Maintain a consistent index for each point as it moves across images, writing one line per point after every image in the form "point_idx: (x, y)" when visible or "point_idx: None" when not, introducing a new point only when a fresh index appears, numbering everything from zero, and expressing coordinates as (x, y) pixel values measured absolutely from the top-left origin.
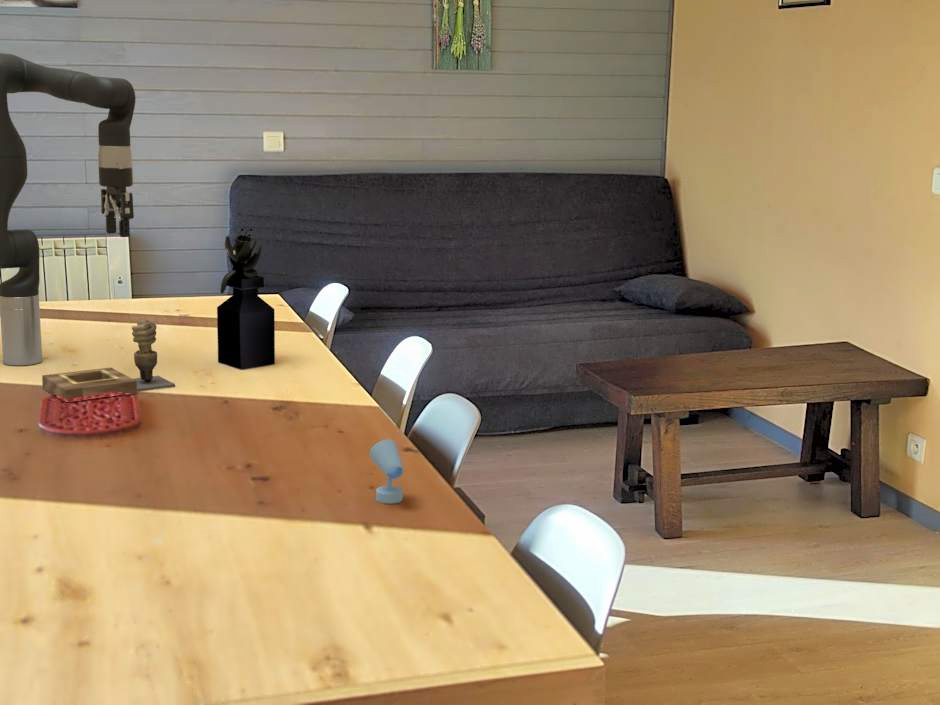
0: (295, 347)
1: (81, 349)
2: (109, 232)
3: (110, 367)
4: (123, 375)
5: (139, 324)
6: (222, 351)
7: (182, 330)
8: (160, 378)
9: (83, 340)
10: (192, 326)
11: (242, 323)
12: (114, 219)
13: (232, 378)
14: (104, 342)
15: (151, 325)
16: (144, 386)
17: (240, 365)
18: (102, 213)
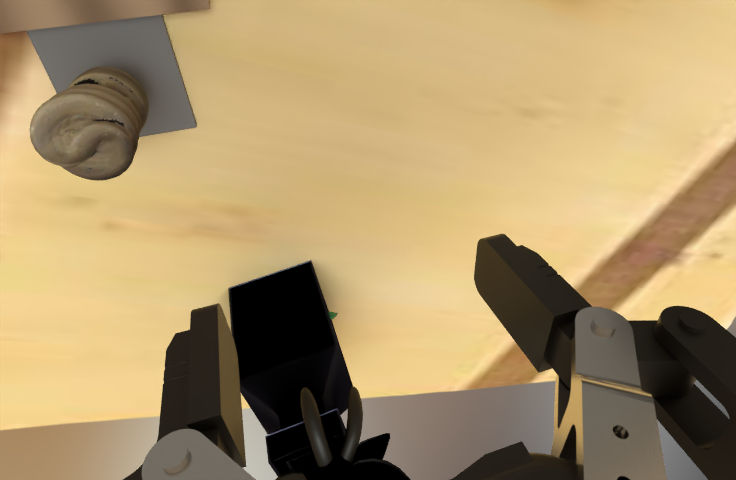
0: (373, 372)
1: (571, 19)
2: (480, 249)
3: (209, 7)
4: (78, 16)
5: (73, 126)
6: (298, 282)
7: (589, 241)
8: (160, 125)
9: (644, 48)
10: (603, 259)
11: None
12: (531, 352)
13: (152, 265)
14: (598, 88)
15: (87, 165)
16: (64, 65)
17: (231, 293)
18: (670, 310)
